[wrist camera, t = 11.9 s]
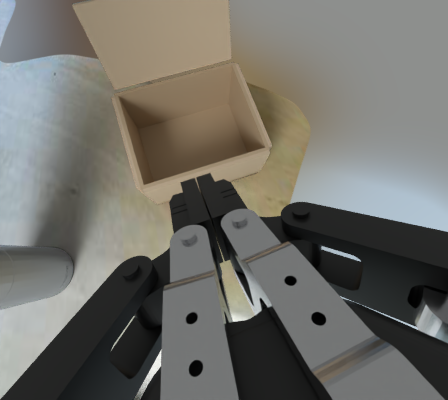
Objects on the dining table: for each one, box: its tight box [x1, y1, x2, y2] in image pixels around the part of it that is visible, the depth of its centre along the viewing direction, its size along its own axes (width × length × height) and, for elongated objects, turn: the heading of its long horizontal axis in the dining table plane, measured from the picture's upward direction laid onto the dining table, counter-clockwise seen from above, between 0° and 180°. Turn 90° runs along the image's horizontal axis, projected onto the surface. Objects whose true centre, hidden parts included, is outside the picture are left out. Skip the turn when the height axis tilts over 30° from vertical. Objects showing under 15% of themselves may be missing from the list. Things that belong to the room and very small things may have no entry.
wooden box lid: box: [72, 0, 232, 90], centre depth 38 cm, size 12×21×1 cm
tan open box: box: [111, 62, 272, 205], centre depth 47 cm, size 19×23×12 cm
